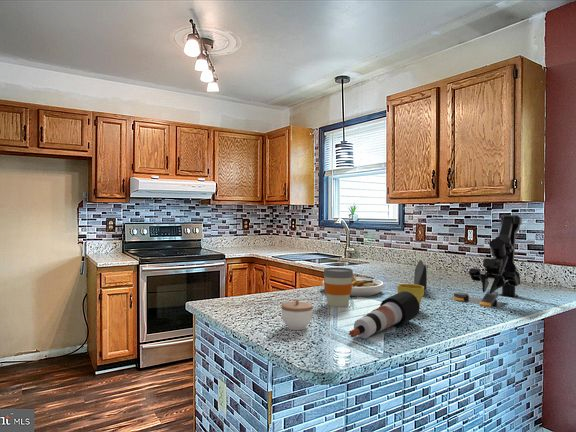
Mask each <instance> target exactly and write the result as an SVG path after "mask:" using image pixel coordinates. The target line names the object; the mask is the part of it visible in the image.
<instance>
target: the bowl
mask: <svg viewBox="0 0 576 432" xmlns="http://www.w3.org/2000/svg"><path fill="white" fill-rule="evenodd" d="M324 282H325V278H323V280H322V287H323V289H324V290H325V286H324ZM383 289H384V282H383V281H381V280H378V279H373V278H368V277H356V276H354V275H353V277H352V290H351V294H350V297H370V296H374V295H377V294H379V293H380V292H381V291H382V290H383Z"/></svg>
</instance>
